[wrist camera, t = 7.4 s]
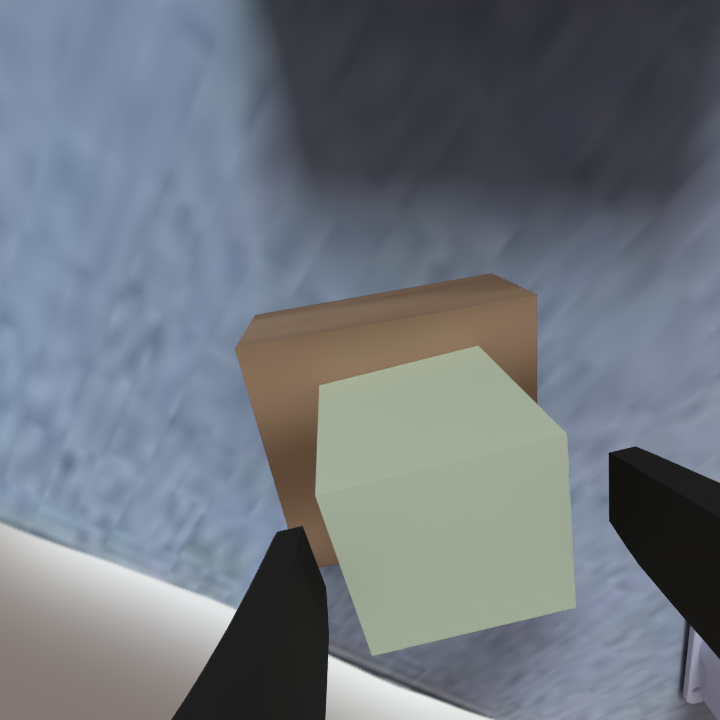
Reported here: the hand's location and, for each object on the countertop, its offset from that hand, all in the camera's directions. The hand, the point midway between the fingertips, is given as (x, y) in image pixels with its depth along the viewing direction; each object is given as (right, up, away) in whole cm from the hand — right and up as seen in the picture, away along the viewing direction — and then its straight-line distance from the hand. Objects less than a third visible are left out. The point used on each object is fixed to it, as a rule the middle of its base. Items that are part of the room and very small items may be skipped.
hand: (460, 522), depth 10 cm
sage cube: (-1, +1, +4) cm, 4 cm away
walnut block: (-1, +2, +8) cm, 8 cm away
